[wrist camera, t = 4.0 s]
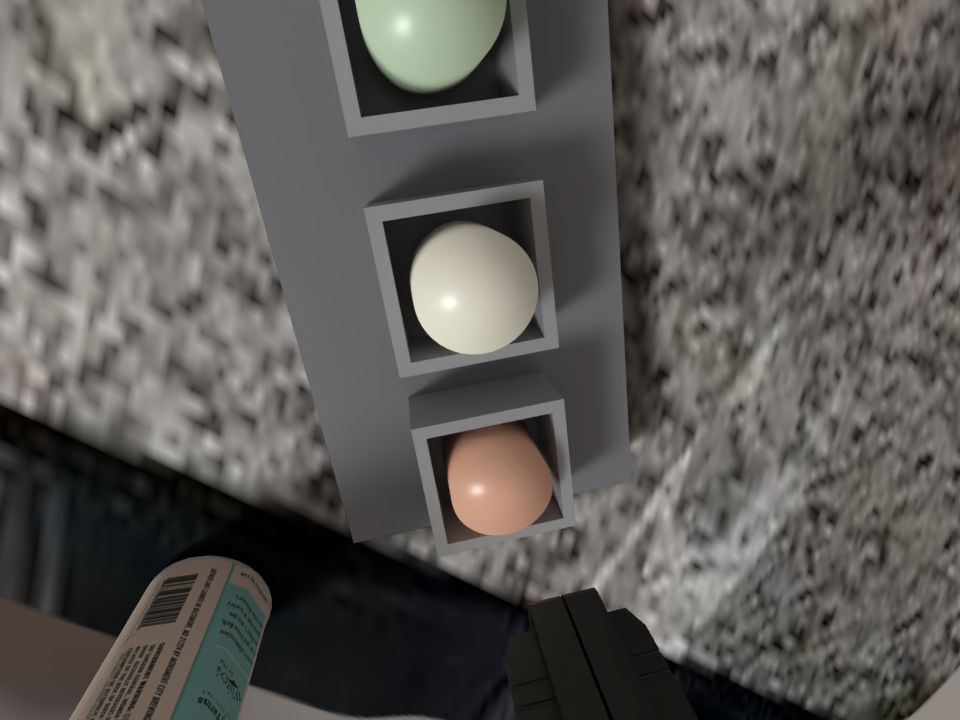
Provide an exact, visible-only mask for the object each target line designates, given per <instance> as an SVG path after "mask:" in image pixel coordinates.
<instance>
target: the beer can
mask: <svg viewBox="0 0 960 720" xmlns="http://www.w3.org/2000/svg"><path fill="white" fill-rule="evenodd" d="M271 608H272V598H271V594H270V591H269V588H268V586H267V585H266V583H265V582H264V580H263V579H262V577H261V576H260V575H259V574H258V573H257V572H256V571H254V570H253V569H252V568H251V567H249V566H248V565H246V564H244V563H242V562H240V561H237V560H234V559H231V558H227V557H221V556H200V557H191V558H187V559H184V560H181V561H179V562H176V563H174V564H172V565H170V566H168V567H167V568H165V569H164V570H163V571H161V572H160V573H159V574H158V575H157V576H156V577H155V578H154V579H153V581H152V582H151V583H150V585H149V586H148V588H147V590H146V591H145V593H144V595H143V596H142V598H141V600H140V601H139V603H138V605H137V607H136V608H135V610H134V612H133V613H132V615H131V617H130V618H129V620H128V622H127V623H126V625H125V627H124V628H123V630H122V632H121V633H120V635H119V637H118V639H117V640H116V642H115V644H114V645H113V647H112V649H111V651H110V652H109V654H108V655H107V657H106V659H105V661H104V662H103V664H102V666H101V667H100V669H99V671H98V672H97V674H96V676H95V677H94V679H93V681H92V682H91V684H90V686H89V687H88V689H87V691H86V692H85V694H84V696H83V698H82V699H81V701H80V703H79V704H78V706H77V708H76V709H75V711H74V713H73V714H72V716H71V718H70V719H69V720H239V717H240V714H241V710H242V706H243V703H244V699H245V696H246V692H247V689H248V685H249V682H250V678H251V674H252V671H253V667H254V664H255V660H256V657H257V653H258V649H259V646H260V642H261V639H262V635H263V632H264V628H265V625H266V623H267V621H268V619H269V616H270V612H271Z"/></svg>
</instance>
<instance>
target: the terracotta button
mask: <svg viewBox="0 0 960 720" xmlns="http://www.w3.org/2000/svg"><path fill="white" fill-rule="evenodd" d="M443 457H444V463H445V468H446V473H447V479H448V484H449V489H450V495H451V500H452V505H453V508H454V511H455V513H456V515H457V516H458V518H459V519H460V520H461V521H462V523H463V524H465V525H466V526H467V527H468V528H470V529H472V530H474V531H476V532H478V533H482V534H486V535H495V536H498V535H507V534H511V533H515V532H517V531H520V530H522V529H524V528H526V527H528V526H529V525H531V524H532V523H533V522H534V521H536V520H537V519H538V518H539V517H540V516H541V515H542V513H543V512H544V511H545V509H546V507H547V506H548V504H549V501H550V499H551V495H552V489H553V481H552V476H551V473H550V470H549V468H548V467H547V465H546V463H545V461H544V459H543V457H542V455H541V454H540V452H539V450H538V448H537V446H536V444H535V443H534V441H533V439H532V437H531V435H530V433H529V432H528V430H527V428H526V426H525V425H524V423H523V422H522V421H521V420H516V421H511V422H506V423H501V424H496V425H491V426H487V427H482V428H477V429H472V430H467V431H462V432H457V433H453V434H448V435H446V438H445V441H444V445H443Z"/></svg>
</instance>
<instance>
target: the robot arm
mask: <svg viewBox="0 0 960 720" xmlns="http://www.w3.org/2000/svg"><path fill="white" fill-rule="evenodd" d="M527 608H528V615H529V622H530V628H531V631H530V632H526V633H522V634H518V635H514V636H510V640H509V645H508V650H507V655H506V660H505V661H506V667H507V672H508V678H509V684H510V689H511V695H512V700H513V706H514V712H515V716H516V720H698V718H697V717H696V715H695V713H694V711H693V709H692V708H691V706H690V704H689V702H688V700H687V699H686V697H685V695H684V693H683V691H682V690H681V688H680V686H679V684H678V682H677V681H676V679H675V677H674V675H673V673H671V672H670V669H669V666H668V664H667V663H666V661H665V659H664V657H663V655H662V654H661V653H660V652H659V648H658V646H657V645H656V643H655V641H654V639H653V637H652V636H651V634H650V632H649V630H648V628H647V627H646V625H645V624H644V623H642V622H641V621H640V620H639V619H638V618H637V617H635V616H634V615H633V614H632V613H631V612H630V611H628V610H627V609H626V608H623V609H619V610H615V611H611V612H607V610H606V608H605V606H604V604H603V602H602V600H601V598H600V596H599V594H598V592H597V590H596V589H595V588H590V589H586V590H581V591H577V592H573V593H569V594H565V595H562V596H561V597H560V596H557V597H553V598H549V599H545V600H540V601H536V602H532V603H528V604H527Z"/></svg>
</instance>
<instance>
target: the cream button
mask: <svg viewBox="0 0 960 720" xmlns="http://www.w3.org/2000/svg"><path fill="white" fill-rule="evenodd" d="M409 280H410V287H411V292H412V298H413V303H414V308H415V312H416V315H417V317H418V320H419V322H420V323H421V325H422V327H423V328H424V330H425V331H426V332H427V334H428V335H429V336H430V337H431V338H432V339H433V340H435V341H436V342H437V343H439V344H440V345H442V346H443V347H445V348H447V349H449V350H452V351H454V352H458V353H462V354H485V353H489V352H493V351H496V350H498V349H501V348H503V347H504V346H506V345H508V344H509V343H511V342H512V341H514V340H515V339H516V338H517V337H518V336H519V335H520V334H521V333H522V332H523V331H524V330H525V328H526V327H527V325H528V324H529V322H530V320H531V318H532V316H533V314H534V311H535V309H536V305H537V300H538V280H537V275H536V272H535V268H534V266H533V264H532V262H531V260H530V258H529V257H528V255H527V253H526V252H525V251H524V250H523V249H522V248H521V247H520V246H519V245H518V244H517V243H516V242H515V241H513V240H512V239H510V238H509V237H507V236H505V235H503V234H501V233H499V232H497V231H495V230H493V229H491V228H489V227H487V226H485V225H483V224H480V223H477V222H473V221H464V220H460V221H452V222H448V223H445V224H442V225H440V226H438V227H436V228H434V229H433V230H432V231H430V232H429V233H428V234H427V235H426V236H425V237H424V238H423V239H422V240H421V241H420V243H419V244H418V245H417V247H416V249H415V251H414V253H413V255H412V259H411V262H410V268H409Z"/></svg>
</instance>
